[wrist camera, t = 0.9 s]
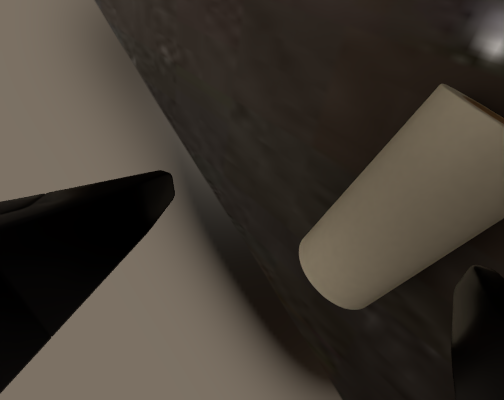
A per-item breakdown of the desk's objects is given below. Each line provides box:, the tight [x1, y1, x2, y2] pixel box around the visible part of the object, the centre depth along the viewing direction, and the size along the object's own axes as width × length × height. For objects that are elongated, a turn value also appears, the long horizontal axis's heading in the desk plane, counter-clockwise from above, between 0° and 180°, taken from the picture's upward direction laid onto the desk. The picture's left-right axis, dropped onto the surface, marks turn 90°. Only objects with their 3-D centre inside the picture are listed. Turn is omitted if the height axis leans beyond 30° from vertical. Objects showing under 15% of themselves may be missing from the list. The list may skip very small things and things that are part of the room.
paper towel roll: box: [299, 84, 504, 310], centre depth 15 cm, size 6×12×6 cm, turn 151°
